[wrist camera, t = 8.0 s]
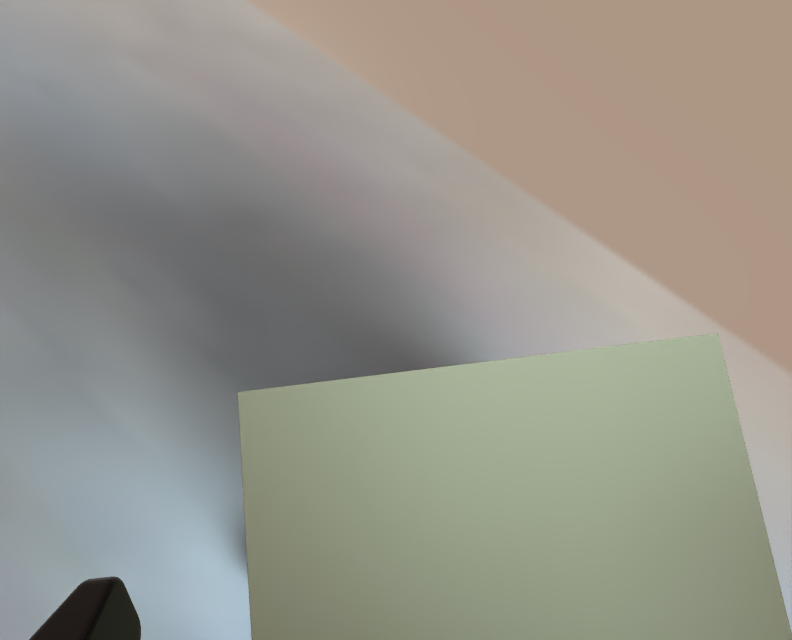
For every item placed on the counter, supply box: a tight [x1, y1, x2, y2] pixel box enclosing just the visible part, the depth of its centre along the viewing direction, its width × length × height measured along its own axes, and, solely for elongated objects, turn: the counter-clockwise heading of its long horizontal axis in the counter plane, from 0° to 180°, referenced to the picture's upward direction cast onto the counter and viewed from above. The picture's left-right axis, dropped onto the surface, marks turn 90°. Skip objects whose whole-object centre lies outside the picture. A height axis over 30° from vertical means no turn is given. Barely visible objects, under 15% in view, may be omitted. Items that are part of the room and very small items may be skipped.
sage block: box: [238, 333, 792, 640], centre depth 12 cm, size 5×5×11 cm
